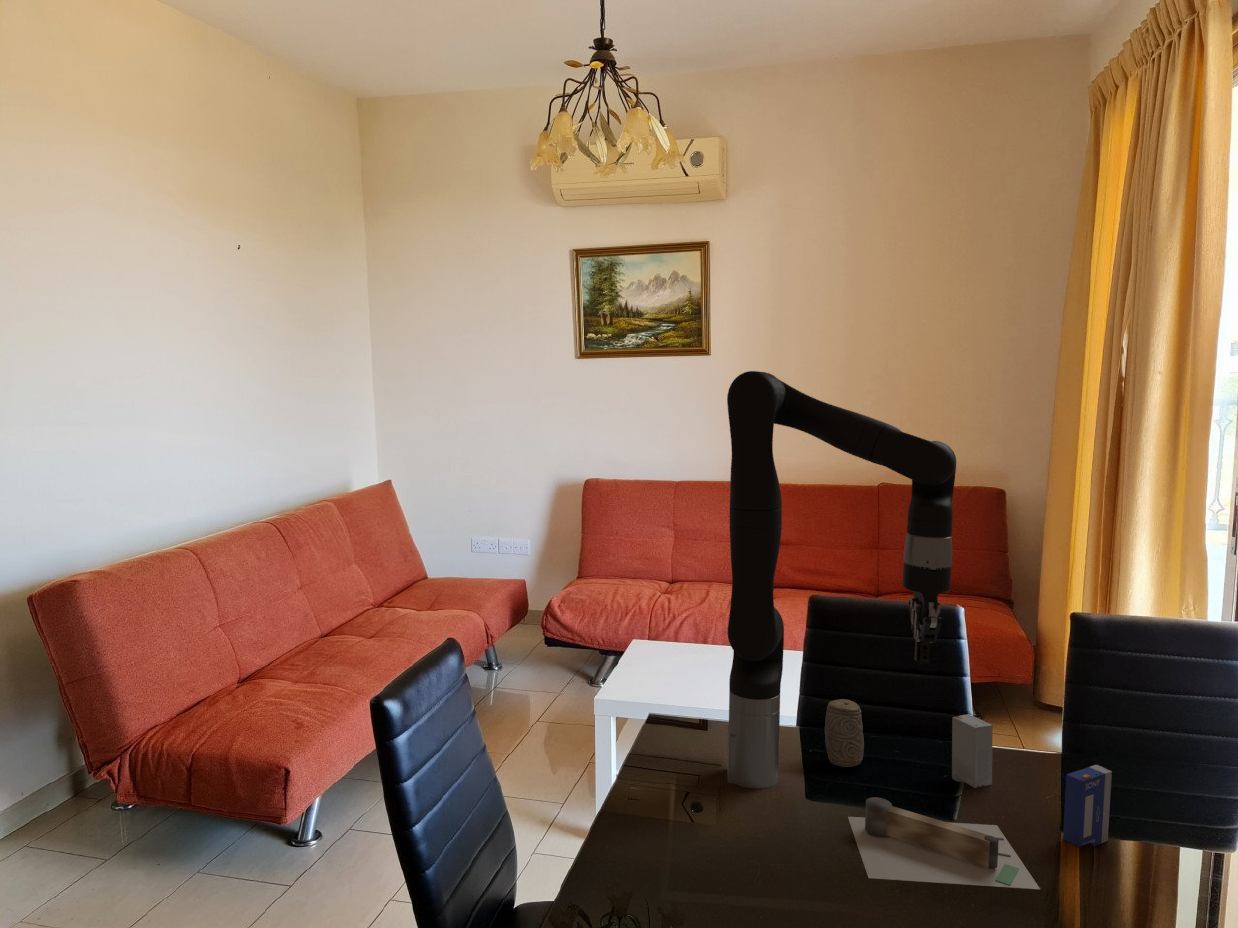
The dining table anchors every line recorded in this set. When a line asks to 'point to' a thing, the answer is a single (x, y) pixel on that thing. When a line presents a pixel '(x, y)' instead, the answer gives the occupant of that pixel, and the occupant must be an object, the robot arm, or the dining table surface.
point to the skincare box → (971, 751)
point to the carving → (844, 733)
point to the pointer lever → (930, 833)
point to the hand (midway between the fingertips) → (921, 662)
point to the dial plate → (938, 861)
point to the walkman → (1087, 806)
